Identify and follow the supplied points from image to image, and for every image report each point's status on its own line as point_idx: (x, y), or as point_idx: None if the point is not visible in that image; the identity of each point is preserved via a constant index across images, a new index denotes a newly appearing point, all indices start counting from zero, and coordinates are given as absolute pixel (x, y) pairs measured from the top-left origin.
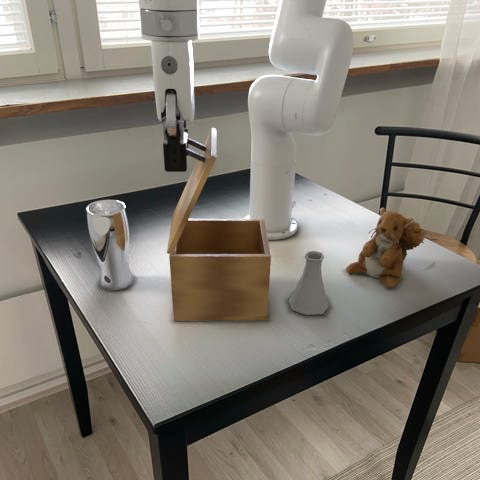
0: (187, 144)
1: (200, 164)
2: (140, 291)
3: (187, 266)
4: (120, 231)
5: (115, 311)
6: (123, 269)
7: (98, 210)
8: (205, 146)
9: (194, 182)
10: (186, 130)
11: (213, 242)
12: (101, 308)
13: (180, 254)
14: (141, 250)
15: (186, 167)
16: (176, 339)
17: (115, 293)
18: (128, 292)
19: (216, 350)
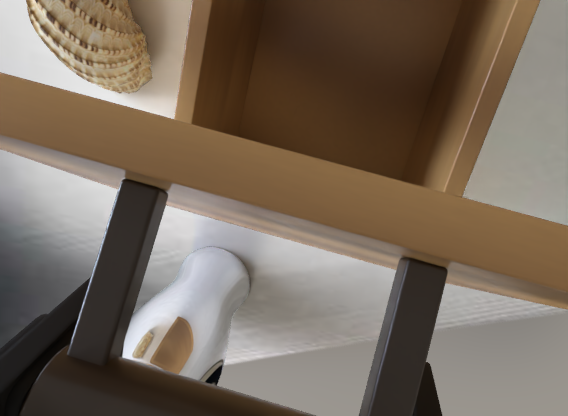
0: (76, 315)
1: (270, 223)
2: (264, 238)
3: None
4: (205, 349)
5: (329, 297)
6: (227, 287)
7: None
8: (134, 191)
9: (367, 254)
10: (5, 399)
11: (227, 56)
12: (310, 320)
13: None
14: (77, 204)
15: (432, 376)
16: (476, 200)
17: (260, 288)
18: (262, 262)
19: (555, 124)
